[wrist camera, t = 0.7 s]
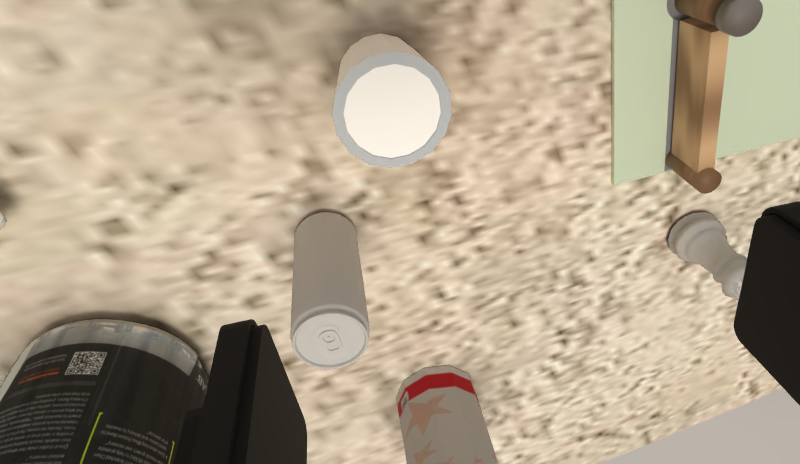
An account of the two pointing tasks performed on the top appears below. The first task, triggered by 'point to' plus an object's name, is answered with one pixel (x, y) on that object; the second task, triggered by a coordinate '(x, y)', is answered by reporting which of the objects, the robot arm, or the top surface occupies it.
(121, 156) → the top surface
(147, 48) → the top surface
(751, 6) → the fence panel
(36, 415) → the supplement tub
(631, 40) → the board
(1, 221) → the square plate
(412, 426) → the spray bottle
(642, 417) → the top surface
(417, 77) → the white short cylinder
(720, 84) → the bar
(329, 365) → the beverage can
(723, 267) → the rook chess piece
